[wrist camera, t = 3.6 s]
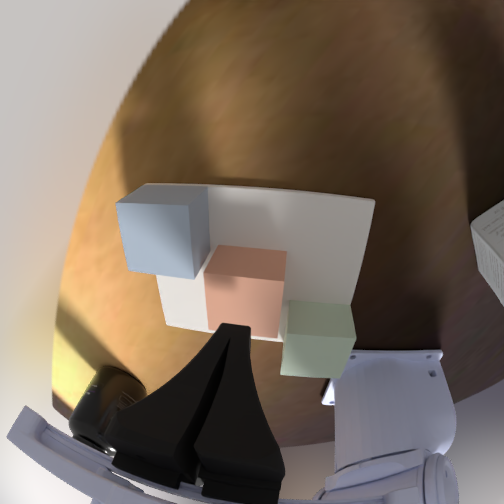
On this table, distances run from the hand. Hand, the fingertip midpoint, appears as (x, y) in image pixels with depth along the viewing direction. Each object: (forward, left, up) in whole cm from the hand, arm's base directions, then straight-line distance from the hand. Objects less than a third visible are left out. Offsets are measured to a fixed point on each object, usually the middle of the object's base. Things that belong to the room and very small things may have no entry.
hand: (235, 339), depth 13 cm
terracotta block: (0, 0, -5) cm, 5 cm away
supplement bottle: (+15, +18, -6) cm, 24 cm away
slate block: (+5, -4, -5) cm, 8 cm away
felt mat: (0, 0, -6) cm, 6 cm away
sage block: (-4, +3, -5) cm, 8 cm away
